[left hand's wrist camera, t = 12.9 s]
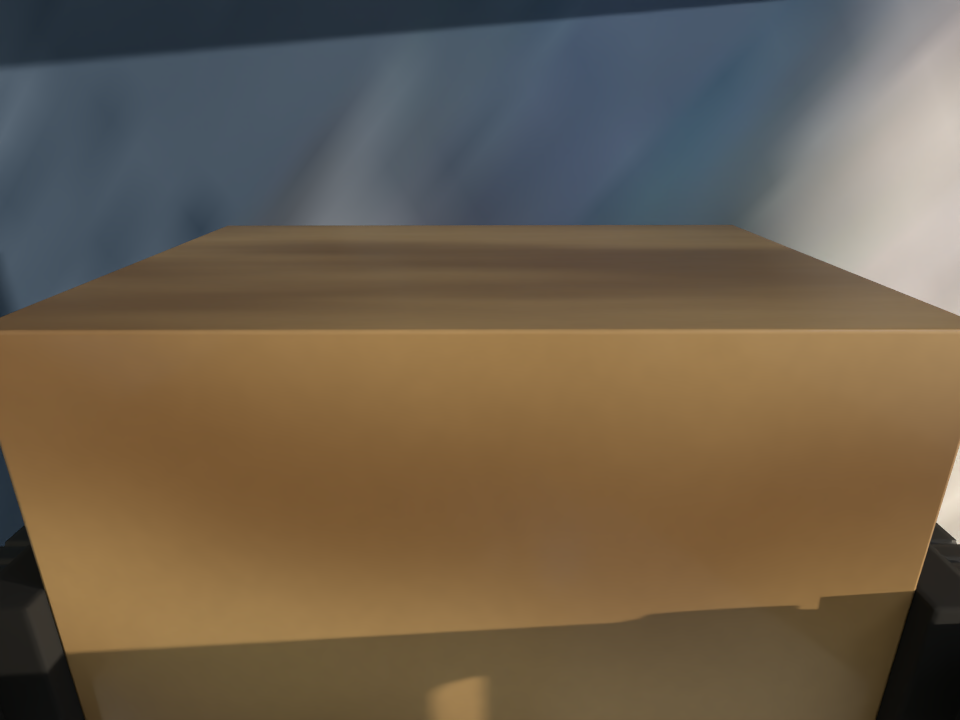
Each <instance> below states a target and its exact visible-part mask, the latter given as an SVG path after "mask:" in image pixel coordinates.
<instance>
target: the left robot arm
mask: <svg viewBox="0 0 960 720" xmlns="http://www.w3.org/2000/svg"><path fill="white" fill-rule="evenodd" d="M0 720H85V718H84V715H83V712H82V709H81V705H80V702H79V699H78V696H77V693H76V689H75V686H74V683H73V680H72V676H71V673H70V670H69V667H68V663H67V660H66V657H65V654H64V650H63V647H62V644H61V641H60V637H59V634H58V631H57V628H56V624H55V621H54V618H53V615H52V612H51V608H50V605H49V602H48V599H47V595H46V592H45V589H44V586H43V582H42V579H41V576H40V573H39V569H38V566H37V563H36V560H35V556H34V553H33V550H32V547H31V544H30V540H29V537H28V534H27V531H26V527H25V525H24V526H23V527H22V528H21V529H20V530H18V531H17V532H16V533H15V534H14V535H13V536H12V537H11V538H9V539H8V540H7V541H6V542H5V546H4V547H0ZM876 720H960V544H957V543H956V540H955V539H954V538H953V537H952V536H951V535H950V534H949V533H947V532H946V531H945V530H944V529H943V528H942V527H941V526H940V525H938V524H937V523H936V524H935V527H934V531H933V534H932V537H931V540H930V544H929V547H928V550H927V554H926V557H925V560H924V563H923V567H922V570H921V573H920V576H919V580H918V583H917V586H916V590H915V593H914V596H913V599H912V603H911V606H910V609H909V613H908V616H907V619H906V622H905V626H904V629H903V632H902V636H901V639H900V642H899V645H898V649H897V652H896V655H895V658H894V662H893V665H892V668H891V672H890V675H889V678H888V681H887V685H886V688H885V691H884V695H883V698H882V701H881V704H880V708H879V711H878V714H877V718H876Z"/></svg>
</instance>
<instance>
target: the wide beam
mask: <svg viewBox="0 0 960 720" xmlns="http://www.w3.org/2000/svg"><path fill="white" fill-rule="evenodd" d="M959 445H960V316H958V315H955V314H953V313H950V312H948V311H945V310H943V309H940V308H938V307H935V306H933V305H930V304H928V303H925V302H923V301H920V300H918V299H915V298H913V297H910V296H908V295H905V294H903V293H900V292H898V291H895V290H893V289H891V288H888V287H886V286H883V285H881V284H878V283H876V282H873V281H871V280H868V279H866V278H863V277H861V276H858V275H856V274H853V273H851V272H848V271H846V270H843V269H841V268H838V267H836V266H833V265H831V264H828V263H826V262H823V261H821V260H818V259H816V258H813V257H811V256H808V255H806V254H803V253H801V252H798V251H796V250H793V249H791V248H788V247H786V246H783V245H781V244H778V243H776V242H773V241H771V240H768V239H766V238H763V237H761V236H758V235H756V234H753V233H751V232H748V231H746V230H743V229H741V228H738V227H736V226H733V225H431V226H226V227H224V228H221V229H219V230H216V231H214V232H211V233H209V234H206V235H204V236H201V237H199V238H196V239H194V240H191V241H189V242H186V243H184V244H181V245H179V246H176V247H174V248H171V249H169V250H167V251H164V252H162V253H159V254H157V255H154V256H152V257H149V258H147V259H144V260H142V261H139V262H137V263H134V264H132V265H129V266H127V267H124V268H122V269H119V270H117V271H114V272H112V273H109V274H107V275H105V276H102V277H100V278H97V279H95V280H92V281H90V282H87V283H85V284H82V285H80V286H77V287H75V288H72V289H70V290H67V291H65V292H62V293H60V294H57V295H55V296H52V297H50V298H47V299H45V300H43V301H40V302H38V303H35V304H33V305H30V306H28V307H25V308H23V309H20V310H18V311H15V312H13V313H10V314H8V315H5V316H3V317H0V446H1V450H2V453H3V456H4V459H5V463H6V466H7V469H8V472H9V476H10V479H11V482H12V485H13V488H14V492H15V495H16V498H17V501H18V505H19V508H20V511H21V514H22V518H23V521H24V524H25V527H26V531H27V534H28V537H29V540H30V544H31V547H32V550H33V553H34V556H35V560H36V563H37V566H38V569H39V573H40V576H41V579H42V582H43V586H44V589H45V592H46V595H47V599H48V602H49V605H50V608H51V612H52V615H53V618H54V621H55V624H56V628H57V631H58V634H59V637H60V641H61V644H62V647H63V650H64V654H65V657H66V660H67V663H68V667H69V670H70V673H71V676H72V680H73V683H74V686H75V689H76V693H77V696H78V699H79V702H80V705H81V709H82V712H83V715H84V718H85V720H876V718H877V714H878V711H879V708H880V704H881V701H882V698H883V695H884V691H885V688H886V685H887V681H888V678H889V675H890V672H891V668H892V665H893V662H894V658H895V655H896V652H897V649H898V645H899V642H900V639H901V636H902V632H903V629H904V626H905V622H906V619H907V616H908V613H909V609H910V606H911V603H912V599H913V596H914V593H915V590H916V586H917V583H918V580H919V576H920V573H921V570H922V567H923V563H924V560H925V557H926V554H927V550H928V547H929V544H930V540H931V537H932V534H933V531H934V527H935V524H936V521H937V517H938V514H939V511H940V508H941V504H942V501H943V498H944V495H945V491H946V488H947V485H948V481H949V478H950V475H951V472H952V468H953V465H954V462H955V458H956V455H957V452H958V449H959Z"/></svg>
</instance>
